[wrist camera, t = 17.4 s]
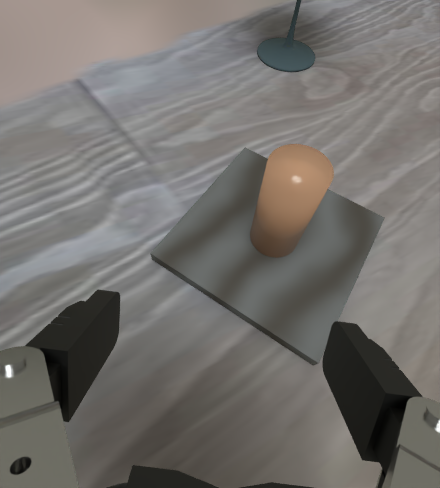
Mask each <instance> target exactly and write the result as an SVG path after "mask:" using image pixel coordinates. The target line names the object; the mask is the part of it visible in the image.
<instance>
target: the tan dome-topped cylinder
mask: <svg viewBox="0 0 440 488" xmlns="http://www.w3.org/2000/svg"><path fill="white" fill-rule="evenodd" d="M333 176H334V171H333V167H332V164H331V162H330V161H329V159H328V158H327V157H326V156H325V155H324V154H323V153H321V152H320V151H318V150H316V149H314V148H312V147H309V146H306V145H301V144H289V145H284V146H281V147H279V148H277V149H276V150H274V151H273V152H272V153H271V154H270V156H269V158H268V161H267V164H266V169H265V173H264V177H263V181H262V185H261V189H260V193H259V197H258V201H257V206H256V210H255V214H254V218H253V222H252V226H251V230H250V239H251V242H252V244H253V246H254V247H255V248H256V249H257V250H258V251H259V252H260V253H262V254H264V255H266V256H269V257H276V258H277V257H284V256H286V255H289V254H290V253H291V252H292V251H293V250H294V249H295V248H296V246H297V244H298V242H299V240H300V239H301V237H302V235H303V233H304V231H305V229H306V228H307V226H308V224H309V222H310V220H311V219H312V217H313V215H314V213H315V211H316V209H317V208H318V206H319V204H320V202H321V200H322V198H323V197H324V195H325V193H326V191H327V189H328V188H329V186H330V184H331V182H332V180H333Z"/></svg>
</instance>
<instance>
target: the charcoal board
mask: <svg viewBox="0 0 440 488" xmlns="http://www.w3.org/2000/svg"><path fill="white" fill-rule="evenodd" d="M267 161H268V159H267V158H265V157H263V156H261V155H259V154H257V153H255V152H253V151H251V150H249V149H247V148H244V149H243V150H242V151H241V153H240V154H239V155H238V156H237V157H236V158H235V159H234V160H233V162H232V163H231V164H230V165H229V166H228V167H227V168H226V169H225V171H224V172H223V173H222V174H221V175H220V176H219V177H218V178H217V179H216V181H215V182H214V183H213V184H212V185H211V186H210V187H209V188H208V190H207V191H206V192H205V193H204V194H203V195H202V196H201V197H200V198H199V200H198V201H197V202H196V203H195V204H194V205H193V206H192V207H191V209H190V210H189V211H188V212H187V213H186V214H185V215H184V216H183V217H182V219H181V220H180V221H179V222H178V223H177V224H176V225H175V226H174V228H173V229H172V230H171V231H170V232H169V233H168V234H167V235H166V237H165V238H164V239H163V240H162V241H161V242H160V243H159V244H158V245H157V247H156V248H155V249H154V250H153V251H152V252H151V253H150V254H151V257H152V260H154V261H155V262H157V263H158V264H160V265H161V266H163V267H165V268H166V269H168V270H169V271H171V272H172V273H174V274H175V275H177V276H178V277H180V278H181V279H183V280H184V281H186V282H187V283H189V284H190V285H192V286H193V287H195V288H196V289H198V290H199V291H201V292H203V293H204V294H206V295H207V296H209V297H210V298H212V299H213V300H215V301H216V302H218V303H219V304H221V305H222V306H224V307H225V308H227V309H228V310H230V311H231V312H233V313H234V314H236V315H238V316H239V317H241V318H242V319H244V320H245V321H247V322H248V323H250V324H251V325H253V326H254V327H256V328H257V329H259V330H260V331H262V332H263V333H265V334H266V335H268V336H269V337H271V338H272V339H274V340H276V341H277V342H279V343H280V344H282V345H283V346H285V347H286V348H288V349H289V350H291V351H292V352H294V353H295V354H297V355H298V356H300V357H301V358H303V359H304V360H306V361H307V362H309V363H310V364H312V365H315V364H318V363H319V361H320V359H321V357H322V355H323V352H324V350H325V348H326V345H327V341H328V337H329V333H330V330H331V326H332V324H333V323H334V322H335V321H338V319H339V317H340V315H341V313H342V311H343V308H344V306H345V304H346V302H347V300H348V297H349V295H350V293H351V291H352V289H353V286H354V284H355V282H356V280H357V278H358V275H359V273H360V271H361V269H362V267H363V264H364V262H365V260H366V258H367V256H368V253H369V251H370V249H371V247H372V245H373V242H374V240H375V238H376V236H377V233H378V231H379V229H380V227H381V225H382V222H383V220H384V217H382V216H380V215H378V214H376V213H374V212H372V211H370V210H368V209H366V208H364V207H362V206H360V205H358V204H356V203H354V202H352V201H350V200H348V199H346V198H344V197H342V196H340V195H338V194H336V193H334V192H332V191H330V190H328V189H327V191H326V193H325V195H324V197H323V198H322V200H321V202H320V204H319V206H318V208H317V209H316V211H315V213H314V215H313V217H312V219H311V220H310V222H309V224H308V226H307V228H306V229H305V231H304V233H303V235H302V237H301V239H300V240H299V242H298V244H297V246H296V248H295V249H294V250H293V251H292V252H291V253H290V254H289V255H286V256H284V257H277V258H276V257H269V256H266V255H264V254H262V253H260V252H259V251H258V250H257V249H256V248H255V247H254V246H253V244H252V242H251V239H250V230H251V226H252V222H253V218H254V214H255V210H256V206H257V201H258V197H259V193H260V189H261V185H262V181H263V177H264V173H265V169H266V164H267Z"/></svg>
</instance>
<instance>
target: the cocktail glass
mask: <svg viewBox="0 0 440 488" xmlns="http://www.w3.org/2000/svg"><path fill="white" fill-rule="evenodd" d="M300 3H301V0H297V3H296V7H295V11H294V15H293V19H292V22H291V26H290V29H289V33H288V36H287V38H272V39H268V40H266V41H264V42H262V43H261V44H260V45H259V47H258V50H257V53H258V56H259V58H260V59H261V60H262V61H263V62H264V63H265V64H266V65H268V66H270V67H272V68H274V69H277V70H281V71H287V72H297V71H302V70H305V69H307V68H309V67H311V66H312V65H313V63H314V61H315V54H314V52H313V51H312V50H311V48H310V47H308V46H307V45H305V44H304V43H302V42H299V41H297V40H293V37H294V30H295V25H296V20H297V16H298V12H299V7H300Z"/></svg>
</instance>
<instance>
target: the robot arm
mask: <svg viewBox="0 0 440 488" xmlns="http://www.w3.org/2000/svg"><path fill="white" fill-rule="evenodd" d="M119 316H120V294H119V292H113V291H105V290H97V291H96V292H95V293H94V294H93V295H92V296H91V297H90V298H89V299H88V300H87V301H86V302H85V301H79V302H77V303H75V304H73V305H70V306H68V307H67V308H66V309H65V310H63V311H62V312H61V313H60V314H59V315H58V317H56V318H55V319H54V320H53V321H52V322H51V324H48V325H47V326H46V327H45V328H44V329H43V330H42V331H41V332H40V333H39V334H37V335H36V336H35V337H34V338H33V339H32V340H31V341H30V342H29V343H28V344H27V345H26V346H21V347H13V348H9V349H5V350H2V351H0V488H79V485H78V481H77V476H76V472H75V468H74V464H73V459H72V455H71V451H70V447H69V443H68V438H67V434H66V430H65V426H64V422H63V421H65V422H69V421H70V419H71V418H72V416H73V414H74V413H75V411H76V409H77V408H78V406H79V404H80V403H81V401H82V399H83V398H84V396H85V394H86V393H87V391H88V390H89V388H90V386H91V385H92V383H93V381H94V380H95V378H96V376H97V375H98V373H99V371H100V370H101V368H102V366H103V365H104V363H105V361H106V360H107V358H108V356H109V355H110V353H111V351H112V350H113V348H114V346H115V344H116V341H117V338H118V333H119ZM323 372H324V375H325V377H326V380H327V382H328V384H329V386H330V389H331V391H332V393H333V395H334V398H335V400H336V402H337V404H338V407H339V409H340V411H341V413H342V416H343V418H344V420H345V422H346V425H347V427H348V429H349V431H350V434H351V436H352V438H353V440H354V443H355V445H356V447H357V449H358V452H359V454H360V456H361V458H362V460H365V461H373V462H380V464H381V466H382V470H381V473H380V475H379V478H378V481H377V485H376V488H440V403H439V402H436V401H434V400H431V399H428V398H424V397H422V395H421V394H420V393H419V392H418V391H417V389H416V388H415V387H414V386H413V384H412V383H411V382H410V381H409V380H408V378H407V377H406V376H405V375H404V373H403V372H402V371H401V370H399V367H398V366H397V365H396V364H395V362H394V361H392V359H391V357H390V356H389V355H388V354H387V353H386V351H385V350H384V349H383V348H382V347H380V346H379V345H378V344H376V343H375V342H374V341H372V340H371V339H368V338H367V336H366V335H365V334H364V333H363V331H362V330H361V329H360V327H359V326H358V325H357V324H354V323H346V322H338V321H335V322H334V323H333V324H332V326H331V330H330V333H329V337H328V341H327V345H326V348H325V352H324V356H323ZM107 488H218V487H216V486H213V485H211V484H209V483H206V482H204V481H201V480H199V479H196V478H194V477H192V476H189V475H187V474H184V473H182V472H180V471H175V470H167V469H159V468H151V467H143V466H135V465H133V466H132V469H131V473H130V476H129V479H128V482H127V483H122V484H117V485H114V486H110V487H107ZM241 488H312V487H304V486H296V485H288V484H280V483H272V482H271V483H265V484H259V485H253V486H247V487H241Z"/></svg>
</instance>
